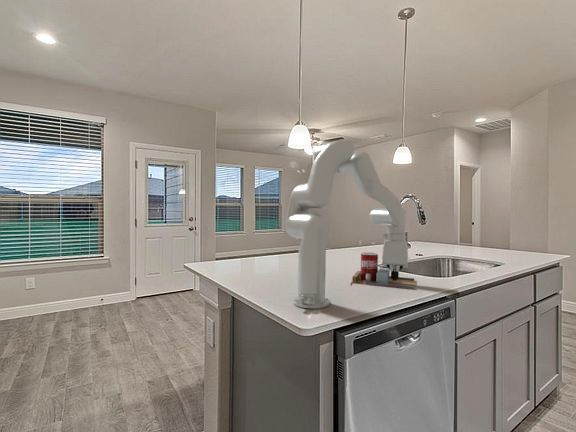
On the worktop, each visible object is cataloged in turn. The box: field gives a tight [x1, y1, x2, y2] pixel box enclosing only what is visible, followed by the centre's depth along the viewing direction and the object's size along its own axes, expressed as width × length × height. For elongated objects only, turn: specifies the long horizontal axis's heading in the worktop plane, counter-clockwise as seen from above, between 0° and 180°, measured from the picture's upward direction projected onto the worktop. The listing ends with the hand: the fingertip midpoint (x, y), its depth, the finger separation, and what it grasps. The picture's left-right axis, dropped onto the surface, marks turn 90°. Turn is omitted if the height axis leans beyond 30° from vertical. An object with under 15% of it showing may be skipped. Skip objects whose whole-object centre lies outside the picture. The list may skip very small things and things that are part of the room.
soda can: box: [360, 251, 379, 282], centre depth 139 cm, size 7×7×12 cm
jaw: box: [376, 267, 391, 284], centre depth 138 cm, size 11×4×5 cm, turn 158°
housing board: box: [350, 270, 418, 291], centre depth 137 cm, size 16×26×5 cm, turn 68°
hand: (394, 280), depth 136 cm, fingers closed
